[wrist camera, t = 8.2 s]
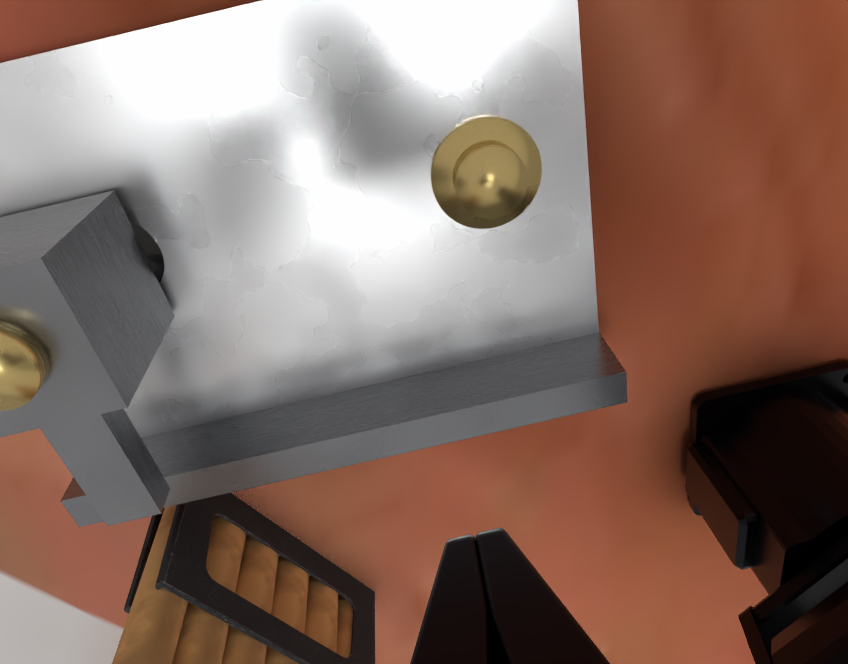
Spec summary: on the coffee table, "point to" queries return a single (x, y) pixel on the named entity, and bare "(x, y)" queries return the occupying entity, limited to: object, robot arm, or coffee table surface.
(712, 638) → the coffee table surface
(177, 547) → the ammunition clip
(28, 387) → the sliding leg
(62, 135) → the hole plate
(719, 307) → the coffee table surface
